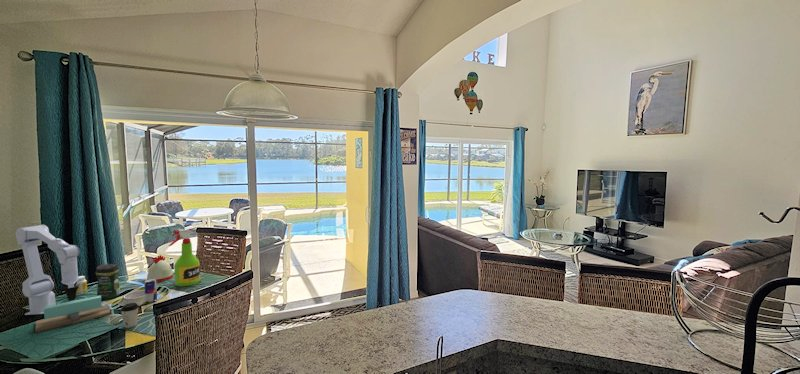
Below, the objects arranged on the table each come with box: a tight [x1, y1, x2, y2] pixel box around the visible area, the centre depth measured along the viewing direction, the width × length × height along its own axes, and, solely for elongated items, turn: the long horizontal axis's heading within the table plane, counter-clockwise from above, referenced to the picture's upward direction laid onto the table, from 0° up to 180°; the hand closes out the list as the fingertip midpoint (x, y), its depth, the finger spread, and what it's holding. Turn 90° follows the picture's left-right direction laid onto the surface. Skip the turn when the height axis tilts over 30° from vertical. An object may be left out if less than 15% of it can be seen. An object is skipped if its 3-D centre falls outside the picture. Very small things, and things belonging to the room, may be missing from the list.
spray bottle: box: [168, 229, 201, 287], centre depth 210 cm, size 14×18×35 cm
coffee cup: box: [119, 302, 140, 329], centre depth 160 cm, size 7×7×10 cm
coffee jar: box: [95, 263, 121, 300], centre depth 190 cm, size 10×8×19 cm
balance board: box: [34, 304, 112, 333], centre depth 166 cm, size 12×26×4 cm, turn 136°
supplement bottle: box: [76, 275, 88, 296], centre depth 194 cm, size 5×5×10 cm
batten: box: [43, 295, 103, 319], centre depth 165 cm, size 20×4×5 cm, turn 133°
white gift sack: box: [146, 254, 174, 283], centre depth 219 cm, size 14×14×15 cm
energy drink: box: [143, 278, 158, 303], centre depth 186 cm, size 5×5×12 cm
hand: (71, 297), depth 165 cm, fingers open, 7 cm apart
